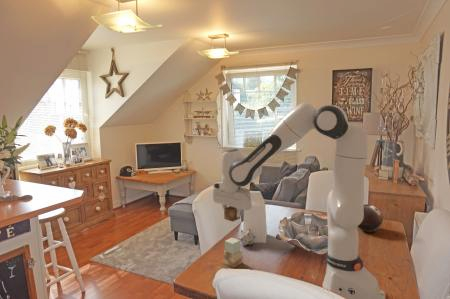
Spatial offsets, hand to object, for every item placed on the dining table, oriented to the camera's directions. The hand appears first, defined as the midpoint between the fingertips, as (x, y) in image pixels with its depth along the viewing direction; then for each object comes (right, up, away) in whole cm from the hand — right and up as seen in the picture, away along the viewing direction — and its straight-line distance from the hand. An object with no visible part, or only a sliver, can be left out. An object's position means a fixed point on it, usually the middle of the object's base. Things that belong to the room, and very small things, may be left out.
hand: (232, 215), depth 145 cm
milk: (+13, -19, +30) cm, 38 cm away
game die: (+8, -20, +22) cm, 31 cm away
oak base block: (0, -23, +3) cm, 23 cm away
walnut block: (0, -2, 0) cm, 2 cm away
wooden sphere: (+77, -16, +37) cm, 87 cm away
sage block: (0, -17, +2) cm, 17 cm away
